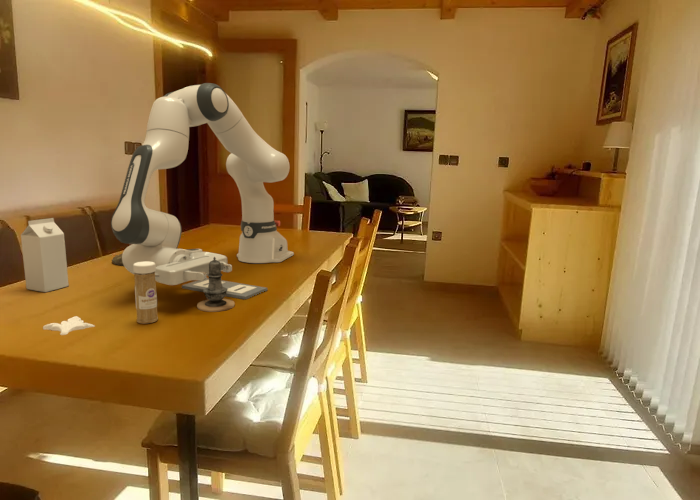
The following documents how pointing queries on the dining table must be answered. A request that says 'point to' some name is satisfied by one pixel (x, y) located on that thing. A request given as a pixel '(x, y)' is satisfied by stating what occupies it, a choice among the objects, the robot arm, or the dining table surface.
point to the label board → (233, 288)
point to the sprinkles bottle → (145, 292)
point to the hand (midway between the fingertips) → (217, 272)
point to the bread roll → (118, 260)
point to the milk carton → (44, 256)
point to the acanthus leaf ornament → (68, 325)
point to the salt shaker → (215, 286)
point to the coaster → (203, 307)
